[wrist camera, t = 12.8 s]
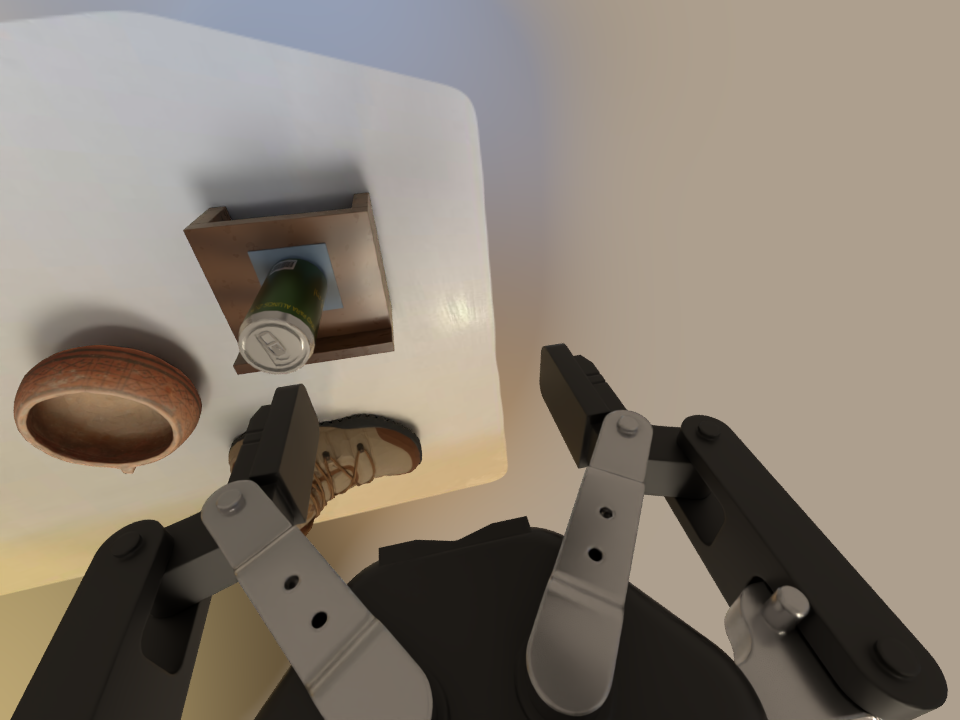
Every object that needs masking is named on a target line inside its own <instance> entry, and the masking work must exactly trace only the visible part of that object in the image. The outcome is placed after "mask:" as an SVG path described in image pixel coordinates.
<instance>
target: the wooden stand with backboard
mask: <svg viewBox="0 0 960 720" xmlns="http://www.w3.org/2000/svg"><path fill="white" fill-rule="evenodd" d="M183 231H184V233H185V235H186V237H187V239H188V241H189V243H190V245H191V247H192V250H193V252H194V254H195V256H196V258H197V260H198V262H199V264H200V266H201V268H202V270H203V272H204V274H205V276H206V278H207V280H208V282H209V284H210V287H211V289H212V291H213V293H214V295H215V297H216V299H217V301H218V303H219V305H220V307H221V309H222V311H223V313H224V315H225V317H226V319H227V322H228V324H229V326H230V328H231V330H232V332H233V334H234V336H235V338H236V340H237V342H239V338H238V336H239V329H240V326H241V325H242V323H243V321H244V319H245V317H246V315H247V313H248V311H249V309H250V307H251V306H252V304H253V302H254V300H255V298H256V296H257V294H258V292H259V290H260V288H261V287H262V285H263V283H264V281H265V279H266V277H267V275H268V273H269V272H270V270H271V268H272V267H273V266H274V265H275V264H276V263H278V262H279V261H281V260H285V259H288V258H297V259H302V260H306V261H309V262H310V263H312V264H314V265H315V266H317V268H318V269H319V270H320V271H321V272H322V273H323V275H324V277H325V279H326V281H327V288H328V289H327V293H326V298H325V302H324V307H323V311H322V316H321V320H320V325H319V329H318V334H317V338H316V343H315V347H314V351H313V354H312V355H311V356H310V358H309V359H308V361H307V362H306V363H305V364H312V363H318V362H325V361H332V360H338V359H345V358H351V357H358V356H365V355H371V354H378V353H385V352H391V351H394V336H393V321H392V306H391V301H390V296H389V291H388V286H387V281H386V276H385V271H384V266H383V261H382V256H381V251H380V246H379V241H378V236H377V231H376V226H375V221H374V215H373V210H372V205H371V200H370V195H369V193H360V194H354V197H353V203H352V208H348V209H338V210H328V211H318V212H309V213H299V214H289V215H279V216H269V217H259V218H249V219H239V220H231V219H230V216H229V214H228V211H227V209H226V207H214V208H209V209H208V210H206V211H205V212H204V213H203V214H202V215H200V216H199V217H198V218H197V219H196V220H195V221H193V222H192V223H191V224H190V225H189V226H187V227H186V228H185V229H184V230H183ZM305 364H304V365H305ZM233 367H234V369H235V370H236V372H237V374H238V375H239V374H246V373H252V372H259V371H261V370H258V369H256V368H254V367H253V366H251V365H250V364H249V363H248V362H246V360H245V359H244V358H243V356H242V355H241V353H240V352H239V354H238V356H237V359H236V361H235V363H234V365H233Z"/></svg>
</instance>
